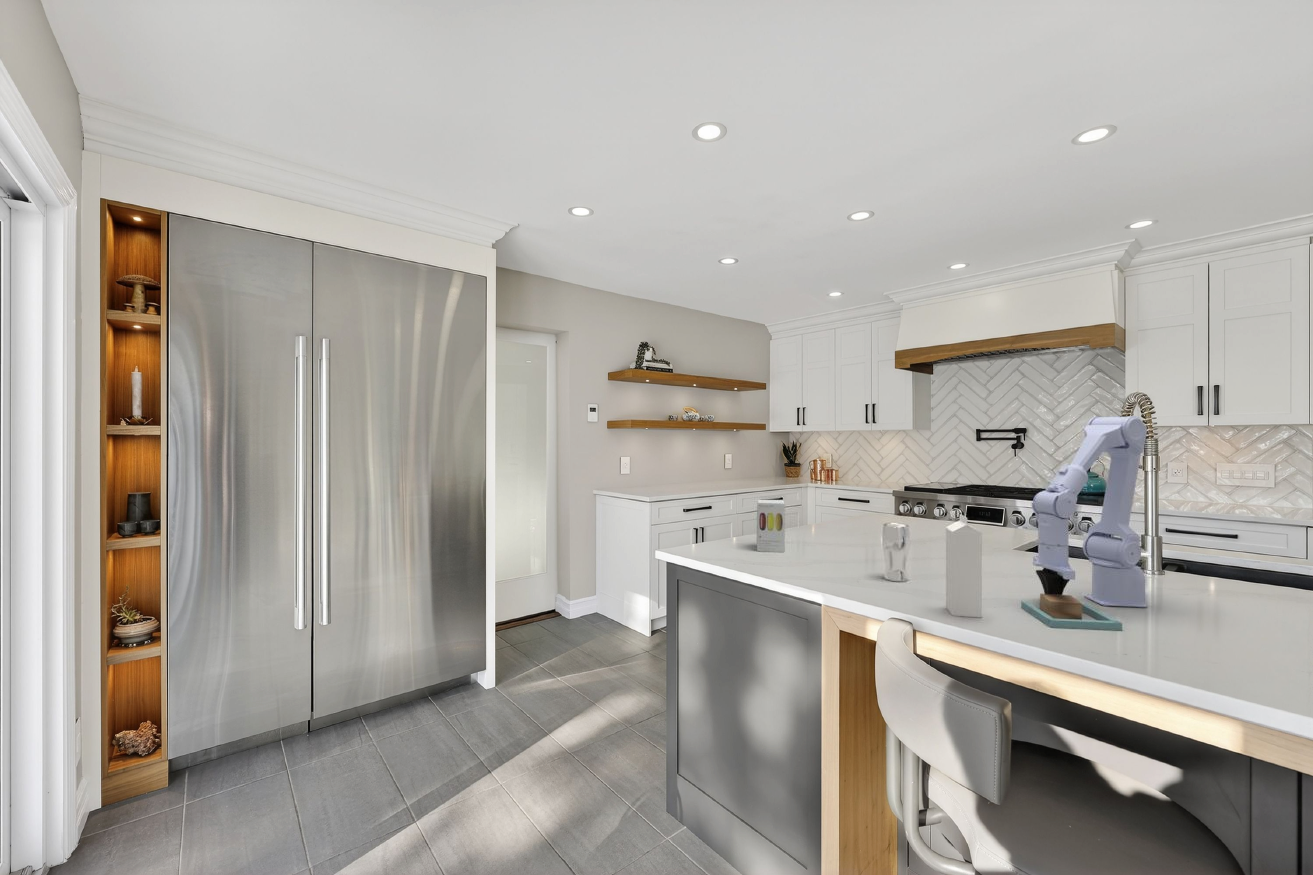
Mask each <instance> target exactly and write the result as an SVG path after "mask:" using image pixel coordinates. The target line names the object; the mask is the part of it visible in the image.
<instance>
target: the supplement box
mask: <svg viewBox="0 0 1313 875" xmlns="http://www.w3.org/2000/svg"><path fill="white" fill-rule="evenodd" d="M756 507H757V508H756V509H757V510H756V551H757V552H763V553H765V552H767V553H769V552H771V553H785V552H786V549H785V548H786V547H785V546H786V541H785V540H786V538H785V537H786V534H785V533H786V528H785V527H786V519H785V518H786V514H785V513H786V510H785V509H786V503H785V500H783V499H757V506H756Z"/></svg>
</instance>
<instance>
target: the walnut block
mask: <svg viewBox="0 0 1313 875" xmlns="http://www.w3.org/2000/svg"><path fill="white" fill-rule="evenodd" d="M1039 602H1040V603H1039V610H1041V611H1043V612H1044V613H1046V614H1047V615H1049V616H1050V617H1052V618H1054V619H1075V620H1083V612H1082V602H1081V601H1079V600H1078V599H1077V598H1075V597H1074V596H1072V595H1071V594H1070V595H1069V594H1062V595H1056V594H1045V593H1040V594H1039Z"/></svg>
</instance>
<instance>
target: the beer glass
mask: <svg viewBox="0 0 1313 875" xmlns="http://www.w3.org/2000/svg"><path fill="white" fill-rule="evenodd" d="M881 535H882V536H881V541H882V542H881V543H882V544H881V545H882V551H883V557H884V563H885V567H884V568H885V569H884V575H883V578H884V580H886V581H888V582H889V581H890V582H896V583H897V582H898V583H904V582H907V581H908V580H909V578H908V572H907V562H908V557H909V551H910V542H911V541H910V530H909V525H908V524H905V523H901V522H900V523H899V522H896V523H895V522H887V523H883V524H882V534H881Z"/></svg>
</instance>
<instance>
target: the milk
mask: <svg viewBox="0 0 1313 875" xmlns="http://www.w3.org/2000/svg"><path fill="white" fill-rule="evenodd" d="M982 540H983V533H982V531H980V530H978V529H977V528H975V527H973V526H971V525H970V524H968V517H966V516H965V515H963V514H962V513H959V520H957V521H955V522H953V523H951V524H950V525H947V526H946V527H945V608H946V609H947V610H948V612H949V613H950V615H951V616H953V617H967V618H983V606H982V605H983V599H982V597H983V578H982V577H983V570H982V569H983V541H982Z"/></svg>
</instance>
